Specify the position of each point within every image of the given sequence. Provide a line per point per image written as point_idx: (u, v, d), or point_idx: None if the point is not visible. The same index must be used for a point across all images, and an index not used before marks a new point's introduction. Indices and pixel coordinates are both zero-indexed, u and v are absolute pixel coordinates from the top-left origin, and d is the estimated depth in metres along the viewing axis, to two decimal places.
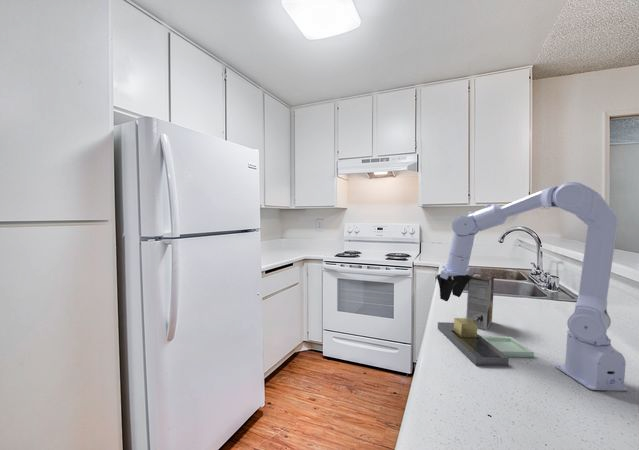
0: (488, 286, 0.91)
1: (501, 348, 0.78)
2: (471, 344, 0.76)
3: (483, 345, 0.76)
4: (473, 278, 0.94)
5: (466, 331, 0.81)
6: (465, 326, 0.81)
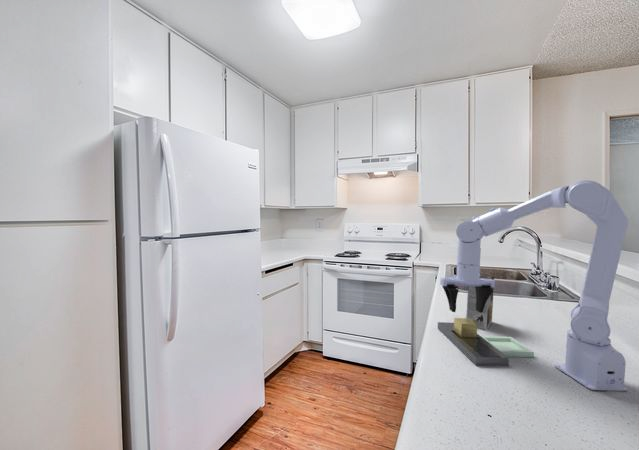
0: None
1: (501, 348, 0.78)
2: (471, 344, 0.76)
3: (483, 345, 0.76)
4: None
5: (466, 331, 0.81)
6: (465, 326, 0.81)
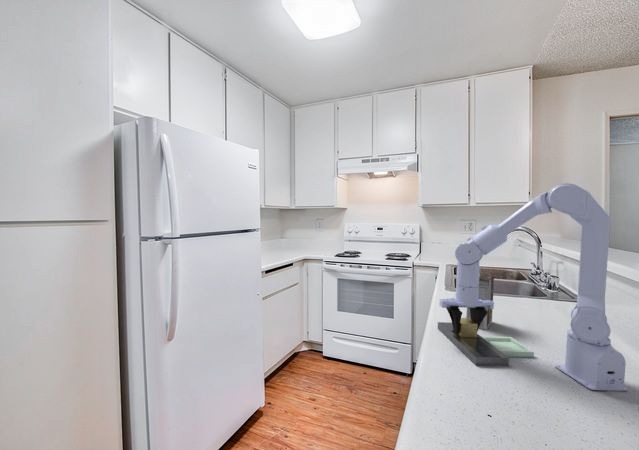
0: (488, 286, 0.91)
1: (501, 348, 0.78)
2: (471, 344, 0.76)
3: (483, 345, 0.76)
4: None
5: (466, 331, 0.81)
6: (465, 326, 0.81)
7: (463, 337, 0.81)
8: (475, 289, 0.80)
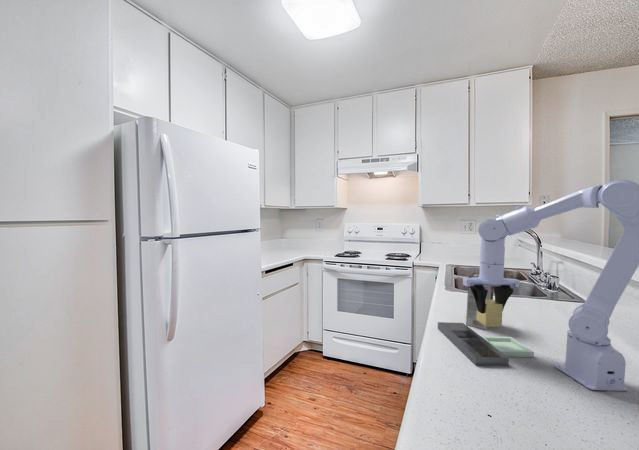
0: (488, 286, 0.91)
1: (501, 348, 0.78)
2: (471, 344, 0.76)
3: (483, 345, 0.76)
4: None
5: (491, 312, 0.78)
6: (490, 306, 0.78)
7: (488, 318, 0.78)
8: (501, 266, 0.77)
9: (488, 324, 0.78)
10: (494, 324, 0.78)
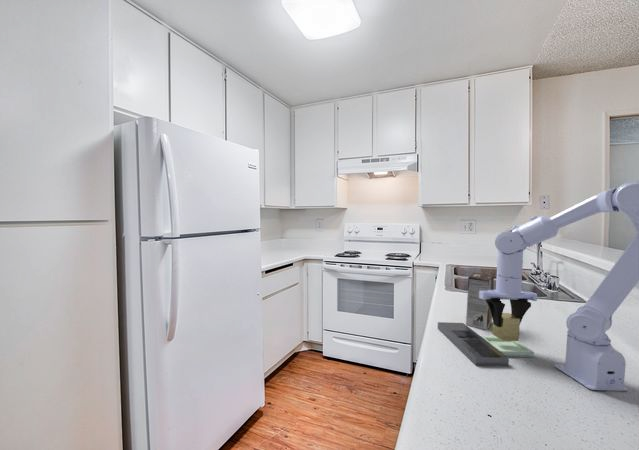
0: (488, 286, 0.91)
1: (501, 348, 0.78)
2: (471, 344, 0.76)
3: (483, 345, 0.76)
4: (473, 278, 0.94)
5: (508, 326, 0.77)
6: (507, 321, 0.77)
7: (505, 332, 0.77)
8: (519, 280, 0.76)
9: (504, 339, 0.77)
10: (511, 339, 0.77)
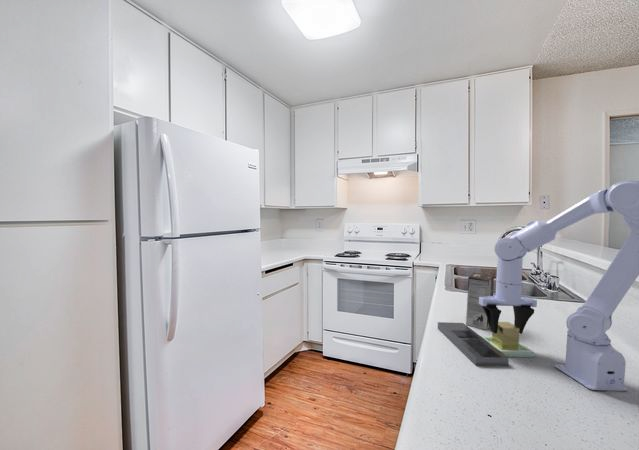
0: (488, 286, 0.91)
1: None
2: (471, 344, 0.76)
3: (483, 345, 0.76)
4: (473, 278, 0.94)
5: (507, 336, 0.77)
6: (507, 331, 0.77)
7: (504, 342, 0.77)
8: (518, 286, 0.76)
9: (504, 349, 0.77)
10: (510, 348, 0.77)
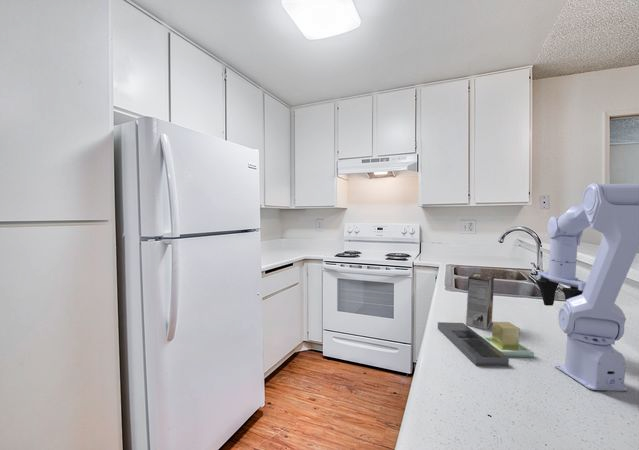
0: (488, 286, 0.91)
1: None
2: (471, 344, 0.76)
3: (483, 345, 0.76)
4: (473, 278, 0.94)
5: (507, 336, 0.77)
6: (507, 331, 0.77)
7: (504, 342, 0.77)
8: (555, 263, 0.79)
9: (504, 349, 0.77)
10: (510, 348, 0.77)
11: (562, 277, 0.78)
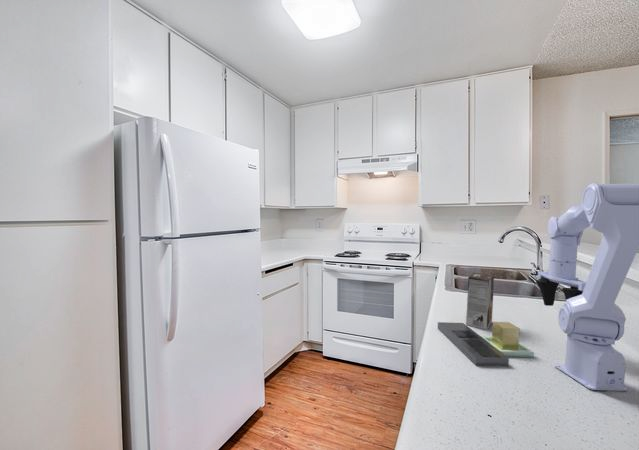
0: (488, 286, 0.91)
1: None
2: (471, 344, 0.76)
3: (483, 345, 0.76)
4: (473, 278, 0.94)
5: (507, 336, 0.77)
6: (507, 331, 0.77)
7: (504, 342, 0.77)
8: (555, 263, 0.79)
9: (504, 349, 0.77)
10: (510, 348, 0.77)
11: (562, 277, 0.78)
